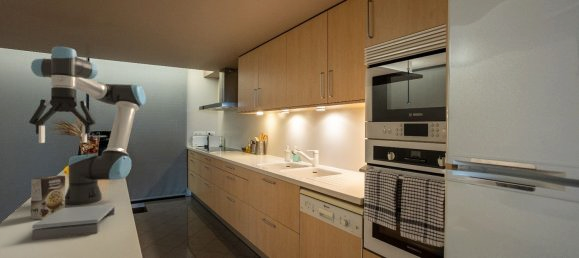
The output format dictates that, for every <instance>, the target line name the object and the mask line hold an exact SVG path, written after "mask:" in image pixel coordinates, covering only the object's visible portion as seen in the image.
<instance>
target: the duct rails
mask: <svg viewBox="0 0 579 258" xmlns="http://www.w3.org/2000/svg"><path fill="white" fill-rule="evenodd" d="M115 213H116V207H115V206H114V208H113V209H112V210H111V211H110V212H109V213H107V214H106V215H105V216H114V215H115ZM99 225H100V223H99V222H98V223H89V224H79V225H68V226H57V227H47V228H36V229H32V230H31V240H32V241H34V240H35V241H36V240H43V239H44V240H45V239H52V238H54V239H55V238H63V237H64V238H65V237H73V236H74V237H75V236H82V235H92V234H98V233H99V231H100V229H99V227H100V226H99Z"/></svg>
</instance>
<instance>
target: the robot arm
mask: <svg viewBox="0 0 579 258" xmlns="http://www.w3.org/2000/svg"><path fill="white" fill-rule="evenodd" d="M30 69H31V72H32V73H33V74H34V75H35V76H36V77H39V78H49V79H51V83H50V85H51V86H52V87H51V88H50V96H51V98H50V100H49V99H48V100H46V99H40V101H39V105H38V107H37V108H36V110H35V112H34V113H33V114H32V117H31V118H30V120H29V122H28V123H29V124H32V125H35V133H36V135H38V144H44V143H46V125H44V124H45V123H46V122H47V121H48V120H49V119H50V118H52V117H53V115H54V114H56V113H57V112H58V113H63V112H66V113H70V112H71V113H72V114H73V115H74V116H75V117H76V118H77V119H78V120H79V121H80V122H81V123H82V124H84V125H82V127H81V128H82V129H81V132H82V134H81V138H82V139H81V141H82V142H81V143H84V144H85V143H88V135H89V134H90V133H91V126H93V125H96V120H95V119H94V117H93V115H92V114H91V112H90V110H89V109H88V107H87V106H88V105H87V102H86V101H85V100H80V101H79V100H77V91H80V92H82V93H85V94H87V95H88V96H89V97H90V98H92V99H93V100H96V101H98V102H101V103H105V104H108V105H112V106H115V107H116V108H117V110H116V113H115V117H114V121H113V124H112V129H111V131H110V136H109V138H108V140H109V141H108V144H107V148H105V150H102V153H101V155H100V156H99V154H98V153H88V154H81V155H74V156H70V158H69V159H68V165H67V167H68V187H67V190H66V191H65V205H70V206H71V205H72V206H74V205H75V206H76V205H85V204H91V203H95V202H98V201H101V200H102V198H103V195H102V191H101V189H100V186H99V183H98V182H99V181H108V180H109V181H117V180H124V179H125V178H126V177H127V176H128V175H129V173H130V171H131V169H132V159H131V158H130V156H129V155H130V154H129V153H128V152H127V149H128V145H129V140H130V136H131V132H132V127H133V123H134V120H135V115H136V112H138V111H140V107H141V106H144V105H146V100H147V97H146V92H145V90H144V87H143V86H141V85H140V84H134V83H133V84H121V83H120V84H119V83H118V84H116V83H115V84H114V83H110V84H109V83H104V82H102V81H96V80H94V78H95V77H97V75H98V72H99V70H98V67H97V65H96V64H94V63H93V62H90V61H89V60H86V59H83V58H79V57H78V55H77V50H75V49H74V48H71V47H66V46H59V45H58V46H54V47H52V49H51V55H50V58H35V59H33V60H32V62H31V64H30ZM49 105H51V107H50V108H49V109H48V111H46V112H45V110H46V109H47V107H48V106H49ZM77 106H79V107H80V108H81V110H82V112H83V113H84V115H85V117H84V116H83V114H81V112H79V111H78V109H77V108H76V107H77ZM44 112H45V113H44ZM42 114H44V115H42Z"/></svg>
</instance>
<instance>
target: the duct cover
mask: <svg viewBox="0 0 579 258" xmlns="http://www.w3.org/2000/svg"><path fill="white" fill-rule="evenodd" d="M114 207H115V203H114V204H113V203H112V204H100V205H88V206H73V207H65V208H62V209H60V210H58V211H57V212H55V213H53V214H51V215H50V216H48V217H46V218H44V219H40V220H39V221H37V222H35V223H34V224H32V230H34V229H41V228H52V227H62V226H73V225H83V224H94V223H99V222H100V221H101V220H102V219H103V218H104V217H105V216H107V215H106V214H107V213H109V212H110V211H111V210H112V209H113V208H114Z"/></svg>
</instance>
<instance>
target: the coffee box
mask: <svg viewBox="0 0 579 258" xmlns="http://www.w3.org/2000/svg"><path fill="white" fill-rule="evenodd" d="M30 184H31V186H30V190H31V191H30V219H33V220H43V219H44V218H46V217H48V216H50V215H51V214H53V213H55V212H57V211H58V210H60V209H62V208H66V204H65V195H66V175H48V176H42V177H35V178H31V183H30Z"/></svg>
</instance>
